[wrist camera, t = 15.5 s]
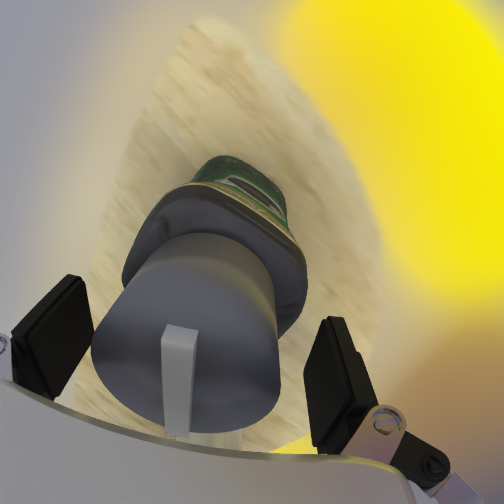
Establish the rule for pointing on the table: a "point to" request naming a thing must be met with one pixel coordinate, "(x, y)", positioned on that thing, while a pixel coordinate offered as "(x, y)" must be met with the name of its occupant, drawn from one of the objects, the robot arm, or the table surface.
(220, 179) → the coffee jar
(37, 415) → the robot arm
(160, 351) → the lid
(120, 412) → the table surface
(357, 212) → the table surface
